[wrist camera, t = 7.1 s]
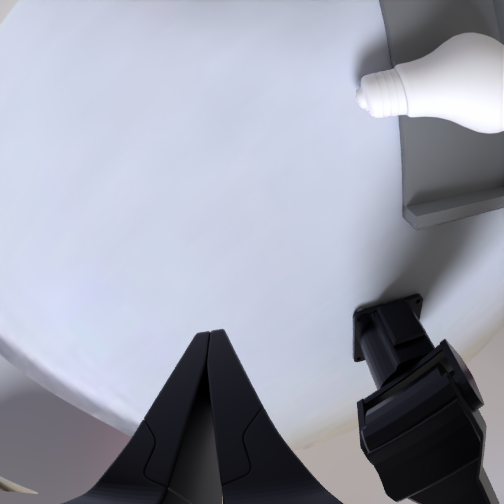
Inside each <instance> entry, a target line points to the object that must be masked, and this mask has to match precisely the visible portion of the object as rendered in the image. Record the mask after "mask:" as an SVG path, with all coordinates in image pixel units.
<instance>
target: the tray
mask: <svg viewBox="0 0 504 504" xmlns="http://www.w3.org/2000/svg"><path fill="white" fill-rule="evenodd" d="M379 2H380V6H381V10H382V15H383V19H384V24H385V28H386V33H387V39H388V44H389V49H390V55H391V61H392V68H394V67H395V66H396V65H398V64H402V63H407V62H411V61H414V60H417V59H420V58H422V57H424V56H426V55H428V54H430V53H431V52H433V51H434V50H435V49H437V48H438V47H439V46H440V45H441V44H443V43H444V42H446V41H447V40H449V39H450V38H452V37H453V36H456V35H459V34H463V33H473V32H474V33H479V34H483V35H487V36H489V37H492V38H494V39H495V40H497V41H499V42H500V43H501V44H503V45H504V0H379ZM398 116H399V127H400V140H401V157H402V186H403V218H404V219H405V220H406V221H407V222H408V223H409V224H410V225H411V226H412V227H413V228H414V229H415V230H418V229H422V228H426V227H430V226H434V225H438V224H442V223H446V222H450V221H454V220H458V219H461V218H465V217H469V216H473V215H477V214H481V213H485V212H488V211H492V210H496V209H500V208H504V131H502V132H499V133H492V134H489V133H481V132H476V131H474V130H471V129H469V128H466V127H464V126H461V125H459V124H457V123H455V122H453V121H450V120H446V119H442V118H438V117H409V116H408V115H398Z"/></svg>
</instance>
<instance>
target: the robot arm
mask: <svg viewBox="0 0 504 504" xmlns="http://www.w3.org/2000/svg"><path fill="white" fill-rule="evenodd" d="M422 302H423V298H422V296H421V295H420V294H416V295H412V296H409V297H406V298H403V299H399V300H396V301H393V302H389V303H386V304H383V305H379V306H376V307H372V308H369V309H365V310H361V311H358V312H356V313H355V314H354V315H353V359H354V361H355V362H360V361H363V360H366V362H367V365H368V367H369V370H370V372H371V375H372V377H373V380H374V382H375V385H376V387H377V391H375V392H374V393H372V394H371V395H369V396H368V397H366V398H365V399H361V400H360V401H358V402H357V409H358V421H359V433H360V446H361V449H362V451H363V452H364V454H365V456H366V457H367V459H368V460H369V461H370V463H372V464H373V465H374V467H375V469H376V471H377V472H378V474H379V477H380V479H381V481H382V484H383V487H384V490H385V492H386V494H387V495H388V496H389V497H390V498H391V499H393V500H394V501H396V502H399V501H401V500H404V499H406V498H408V499H410V500H412V501H414V502H416V503H418V504H499V501H498V499H497V497H496V494H495V492H494V490H493V488H492V486H491V483H490V481H489V479H488V477H487V475H486V473H485V471H484V468H483V457H484V449H485V438H486V423H485V421H484V419H483V417H482V416H481V413H480V412H479V410H478V409H479V408H480V407H482V406H483V405H484V402H483V399H482V397H481V395H480V392H479V390H478V387H477V385H476V382H475V380H474V378H473V376H472V374H471V372H470V371H469V369H468V368H467V366H466V364H465V363H464V361H463V360H462V358H461V357H460V355H459V354H458V353H457V352H456V351H455V350H454V348H453V347H452V346H451V345H450V344H449V343H448V341H447V340H446V339H444V340H443V341H441V342H440V345H438V346H437V347H436V348H435V347H434V345H433V343H432V342H431V340H430V338H429V337H428V335H427V333H426V331H425V329H424V328H423V326H422V324H421V323H420V321H419V319H420V314H421V308H422ZM358 317H359V318H358ZM222 495H223V504H343V503H342V502H341V501H339V500H338V499H337V498H336V497H334V496H333V495H332V494H331V493H330V492H328V491H327V490H326V489H325V488H324V487H323V486H322V485H321V484H320V483H319V482H318V481H317V480H316V478H315V477H314V476H313V475H312V474H311V473H310V472H309V470H308V469H307V468H306V467H305V466H304V465H303V463H302V462H301V461H300V460H299V458H298V457H297V456H296V455H295V454H294V452H293V451H292V450H291V449H290V447H289V446H288V445H287V443H286V442H285V441H284V439H283V438H282V437H281V435H280V434H279V433H278V431H277V429H276V428H275V426H274V424H273V423H272V421H271V419H270V418H269V416H268V414H267V412H266V410H265V409H264V407H263V405H262V403H261V401H260V399H259V397H258V395H257V393H256V392H255V390H254V388H253V386H252V384H251V382H250V380H249V378H248V376H247V374H246V372H245V370H244V368H243V366H242V364H241V362H240V360H239V358H238V356H237V354H236V352H235V350H234V348H233V346H232V344H231V342H230V340H229V338H228V336H227V334H226V332H225V330H224V329H219V330H213V331H211V332H209V331H206V332H200V333H197V334H196V335H195V337H194V338H193V340H192V341H191V343H190V345H189V346H188V348H187V349H186V351H185V353H184V354H183V356H182V358H181V359H180V361H179V362H178V364H177V366H176V367H175V369H174V370H173V372H172V374H171V375H170V377H169V378H168V380H167V382H166V383H165V385H164V387H163V388H162V390H161V391H160V393H159V395H158V396H157V398H156V399H155V401H154V403H153V404H152V406H151V408H150V409H149V411H148V412H147V414H146V416H145V417H144V420H142V422H141V424H140V425H139V427H138V428H137V430H136V432H135V433H134V435H133V436H132V438H131V439H130V441H129V442H128V444H127V445H126V446H125V448H124V449H123V450H122V452H121V453H120V454H119V456H118V457H117V458H116V460H115V461H114V462H113V463H112V464H111V466H110V467H109V468H108V469H107V471H106V472H105V473H104V475H103V476H102V477H101V478H100V479H99V481H98V482H97V483H96V484H95V485H94V486H93V487H92V488H91V489H90V490H89V491H88V492H86V493H85V494H83V495H81V496H79V497H77V498H75V499H72V500H70V501H67V502H65V503H62V504H222Z"/></svg>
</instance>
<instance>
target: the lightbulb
mask: <svg viewBox="0 0 504 504" xmlns="http://www.w3.org/2000/svg"><path fill="white" fill-rule="evenodd" d="M356 100H357V102H358V104H359V105H360V107H361V108H364V109H366V110H368V112H369V113H370V115H372V116H373V117H375V118H379V117H380V118H382V117H390V116H397V115H408V116H409V117H438V118H442V119H446V120H450V121H453V122H455V123H457V124H459V125H461V126H464V127H466V128H469V129H471V130H474V131H476V132H481V133H489V134H492V133H499V132H502V131H504V45H503V44H501V43H500V42H499V41H497V40H495V39H494V38H492V37H489V36H487V35H483V34H479V33H474V32H473V33H463V34H459V35H456V36H453V37H452V38H450V39H449V40H447V41H446V42H444V43H443V44H441V45H440V46H439V47H438V48H437V49H435V50H434V51H433V52H431V53H430V54H428V55H426V56H424V57H422V58H420V59H417V60H414V61H411V62H407V63H402V64H398V65H396V66H395V67H394V68H393V69H391V70H386V71H379V72H377V73H372V74H369V75H365V76H363V77H362V78H361V83H360V87H359V88H358V89H357V90H356Z"/></svg>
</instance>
